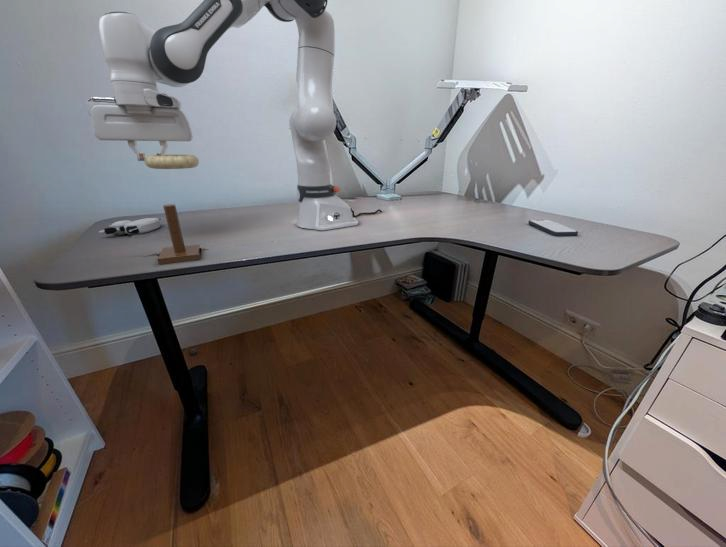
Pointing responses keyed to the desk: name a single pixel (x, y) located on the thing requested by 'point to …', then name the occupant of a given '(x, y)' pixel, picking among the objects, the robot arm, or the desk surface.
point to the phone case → (553, 228)
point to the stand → (177, 241)
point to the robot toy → (133, 226)
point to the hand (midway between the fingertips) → (152, 160)
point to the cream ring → (171, 161)
